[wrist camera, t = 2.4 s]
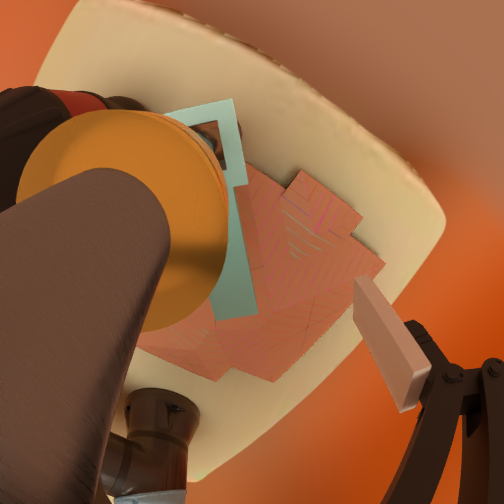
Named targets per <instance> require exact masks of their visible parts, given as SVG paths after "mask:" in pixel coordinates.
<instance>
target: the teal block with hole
mask: <svg viewBox="0 0 504 504" xmlns="http://www.w3.org/2000/svg"><path fill="white" fill-rule="evenodd" d="M162 115H165V116H168V117H171V118H174V119H176V120H178V121H179V122H181V123H183V124H185V125H186V126H188V127H192V126H197V125H201V124H206V123H210V122H215V121H218V126H219V131H220V136H221V142H222V147H223V152H224V157H225V159H224V160H219V164H220V166H221V168H222V171H223V173H224V177H225V180H226V184H227V190H228V197H229V214H228V246H227V254H226V259H225V263H224V266H223V270H222V273H221V275H220V277H219V279H218V282H217V284H216V286H215V287H214V289H213V290H212V292H211V294H210V295H209V296H208V297H209V300H210V303H211V307H212V310H213V313H214V317H215V320H216V321H220V320H226V319H232V318H238V317H244V316H249V315H255V314H258V308H257V301H256V294H255V287H254V281H253V276H252V271H251V266H250V261H249V256H248V251H247V246H246V241H245V236H244V231H243V226H242V221H241V216H240V211H239V206H238V201H237V196H236V190H235V187H236V186H241V185H246V184H249V183H248V178H247V172H246V167H245V161H244V156H243V150H242V145H241V140H240V134H239V129H238V124H237V118H236V113H235V108H234V103H233V98H232V99H227V100H222V101H217V102H212V103H207V104H202V105H198V106H194V107H189V108H185V109H181V110H177V111H173V112H169V113H166V114H162Z"/></svg>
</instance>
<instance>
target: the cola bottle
mask: <svg viewBox="0 0 504 504" xmlns="http://www.w3.org/2000/svg"><path fill="white" fill-rule="evenodd" d="M98 110H134V111H146V110H145V108H144V107H143V106H142V105H141V104H139V103H138V102H137V101H135V100H133V99H131V98H127V97H122V96H114V97H109V98H104V97H102V96H100V95H98V94H95V93H92V92H87V91H74V92H73V91H63V90H50V89H45V88H42V87H39V86H24V87H19V88H15V89H12V88H9V89H6V90H4V91H2V92H0V213H2V212H3V211H5V210H7V209H9V208H10V207H12V206H14V205H16V198H17V191H18V186H19V182H20V178H21V175H22V173H23V170H24V167H25V165H26V163H27V161H28V159H29V158H30V156H31V154H32V153H33V151H34V150H35V148H36V147H37V146H38V144H39V143H40V142H41V141H42V140H43V139H44V138H45V137H46V136H47V135H48V134H49V133H50V132H51V131H52V130H54V129H55V128H56V127H58V126H59V125H60V124H62V123H64V122H65V121H67V120H69V119H71V118H73V117H75V116H78V115H81V114H84V113H87V112H92V111H98Z"/></svg>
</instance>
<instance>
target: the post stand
mask: <svg viewBox="0 0 504 504" xmlns="http://www.w3.org/2000/svg"><path fill="white" fill-rule="evenodd" d="M237 124H238V129H239V134H240V140H241V139H242V132H241V127H240V125H239V123H238V121H237ZM224 159H225V157H224V152H223V147H222V142H221V136H220V131H219V126H218V121H215V122H210V123H206V124H201V125H197V126H192V127H188V126H186V125H185V124H183V123H181V122H179V121H178V120H176V119H174V118H171V117H168V116H165V115H162V114H159V113H153V112H147V111H134V110H98V111H92V112H87V113H84V114H81V115H78V116H75V117H73V118H71V119H69V120H67V121H65V122H64V123H62V124H60V125H59V126H58V127H56V128H55V129H54V130H52V131H51V132H50V133H49V134H48V135H47V136H46V137H45V138H44V139H43V140H42V141H41V142H40V143H39V144H38V146H37V147H36V148H35V150H34V151H33V153H32V154H31V156H30V158H29V159H28V161H27V163H26V165H25V167H24V170H23V173H22V175H21V178H20V182H19V186H18V191H17V198H16V205H14V206H12V207H10V208H9V209H7V210H5V211H3V212H2V213H0V504H94V499H95V494H96V489H97V484H98V479H99V475H100V470H101V466H102V461H103V457H104V453H105V449H106V445H107V441H108V437H109V433H110V429H111V426H112V422H113V418H114V415H115V411H116V408H117V404H118V401H119V397H120V394H121V391H122V387H123V384H124V381H125V377H126V374H127V371H128V368H129V365H130V362H131V359H132V356H133V353H134V350H135V347H136V344H137V341H138V338H139V335H140V333H143V332H150V331H156V330H160V329H163V328H166V327H169V326H171V325H173V324H175V323H178V322H180V321H181V320H183V319H184V318H186V317H187V316H189V315H191V314H192V313H193V312H194V311H195V310H196V309H197V308H199V307H200V306H201V305H202V303H203V302H204V301H205V300H206V299H207V298H208V296H209V295H210V294H211V292H212V290H213V289H214V287H215V286H216V284H217V282H218V279H219V277H220V275H221V273H222V270H223V266H224V263H225V259H226V254H227V246H228V214H229V197H228V190H227V184H226V180H225V177H224V173H223V171H222V168H221V166H220V164H219V160H224Z"/></svg>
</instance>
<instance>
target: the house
mask: <svg viewBox="0 0 504 504" xmlns="http://www.w3.org/2000/svg"><path fill="white" fill-rule="evenodd" d="M245 167H246V172H247V178H248V183H249V184H246V185H241V186H236V187H235V190H236V196H237V201H238V206H239V211H240V216H241V221H242V226H243V231H244V236H245V241H246V246H247V251H248V256H249V261H250V266H251V271H252V276H253V281H254V287H255V294H256V301H257V308H258V314H255V315H249V316H244V317H238V318H232V319H226V320H220V321H216V320H215V317H214V313H213V310H212V307H211V303H210V300H209V297H208V298H207V299H206V300H205V301H204V302H203V303H202V305H201V306H200V307H199V308H197V309H196V310H195V311H194V312H193V313H192V314H191V315H189V316H187V317H186V318H184V319H183V320H181V321H180V322H178V323H175V324H173V325H171V326H169V327H166V328H163V329H160V330H156V331H150V332H143V333H140V335H139V338H138V341H137V344H136V346H137V347H139V348H141V349H143V350H145V351H147V352H149V353H151V354H153V355H155V356H157V357H159V358H161V359H164V360H166V361H168V362H170V363H172V364H175V365H177V366H179V367H181V368H184V369H186V370H188V371H191V372H193V373H196V374H198V375H200V376H203V377H205V378H208V379H210V380H213V381H215V382H216V381H217V380H218V379H219V378H220V377H221V376H222V375H223V374H224V373H225V372H226V371H227V370H228V369H229V368H230V367H231V366H232V367H234V368H236V369H239V370H241V371H244V372H247V373H249V374H252V375H254V376H257V377H260V378H262V379H265V380H268V381H270V382H273V383H274V382H275V381H276V380H277V379H278V378H279V377H280V376H281V375H282V374H283V373H284V372H286V371H287V370H288V369H289V368H290V367H291V366H292V365H293V364H294V363H295V362H296V361H297V360H298V359H299V358H300V357H301V356H302V355H303V354H304V353H305V352H306V351H307V350H308V349H309V348H310V347H311V346H312V345H313V344H314V343H315V342H316V341H317V340H318V339H319V338H320V337H321V336H322V335H323V334H324V333H325V332H326V331H327V330H328V329H329V328H330V327H331V326H332V325H333V324H334V322H335V321H336V320H337V319H338V318H339V317H340V316H341V315H342V314H343V313H344V312H345V311H346V310H347V308H348V307H349V306H350V305H351V304H352V303H353V302H354V277H357V276H362V275H366V274H368V276H369V277H370V278H371V279H372V280H373V279H374V278H375V276H376V275H377V274H378V273H379V272H380V270H381V269H382V268H383V267H384V266H385V264H386V263H385V262H384V261H382V260H381V259H380V258H379V257H377V256H376V255H375V254H374V253H372V252H371V251H370V250H369V249H367V248H366V247H365V246H363V245H362V244H361V243H359V242H358V241H357V240H356V239H354V238H353V237H352V236H350V234H351V233H352V231H353V230H354V229H355V228H356V226H357V225H358V224H359V222H360V221H361V220H362V218H363V217H362V216H361V215H360V214H359V213H357V212H356V211H355V210H354V209H352V208H351V207H350V206H349V205H347V204H346V203H345V202H344V201H342V200H341V199H340V198H338V197H337V196H336V195H335V194H333V193H332V192H331V191H329V190H328V189H327V188H325V187H324V186H323V185H322V184H320V183H319V182H318V181H316V180H315V179H313V178H312V177H311V176H309V175H308V174H307V173H305V172H304V171H303V170H300V172H299V173H298V174H297V176H296V177H295V179H294V180H293V181H291V184H290V185H289V187H288V188H287V189H285V188H284V187H282V186H281V185H279V184H278V183H276V182H275V181H273V180H272V179H270V178H269V177H267V176H266V175H264V174H263V173H261V172H260V171H258V170H257V169H255V168H254V167H252V166H251V165H249V164H248V163H246V162H245Z"/></svg>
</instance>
